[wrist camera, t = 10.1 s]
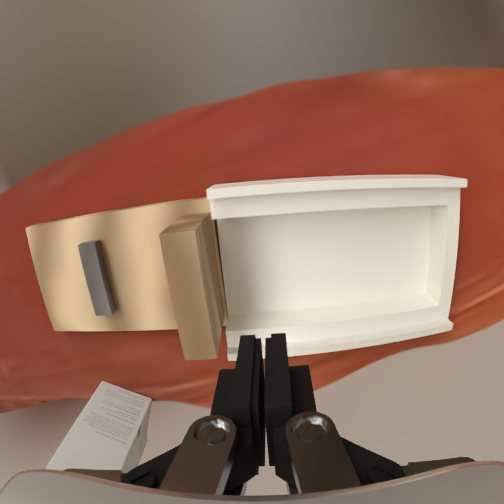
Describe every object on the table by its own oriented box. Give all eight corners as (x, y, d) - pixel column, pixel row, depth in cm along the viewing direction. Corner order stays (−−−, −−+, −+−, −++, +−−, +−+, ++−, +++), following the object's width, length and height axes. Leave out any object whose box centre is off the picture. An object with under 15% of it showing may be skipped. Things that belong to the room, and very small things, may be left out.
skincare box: (147, 441, 31) (115, 545, 16) (99, 424, 30) (54, 520, 16) (153, 394, 28) (109, 516, 14) (98, 375, 28) (34, 483, 14)
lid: (213, 195, 24) (195, 210, 16) (230, 316, 26) (222, 371, 19) (35, 224, 24) (-19, 245, 17) (62, 323, 27) (21, 364, 20)
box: (436, 174, 23) (467, 178, 18) (428, 307, 26) (451, 329, 22) (214, 184, 23) (206, 189, 19) (231, 330, 26) (228, 361, 22)
